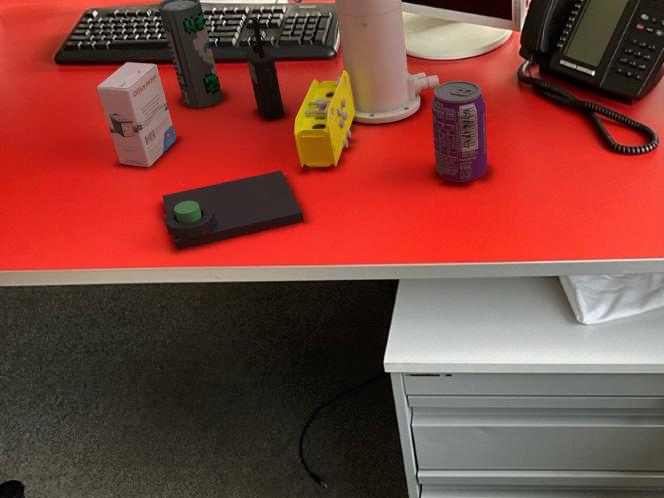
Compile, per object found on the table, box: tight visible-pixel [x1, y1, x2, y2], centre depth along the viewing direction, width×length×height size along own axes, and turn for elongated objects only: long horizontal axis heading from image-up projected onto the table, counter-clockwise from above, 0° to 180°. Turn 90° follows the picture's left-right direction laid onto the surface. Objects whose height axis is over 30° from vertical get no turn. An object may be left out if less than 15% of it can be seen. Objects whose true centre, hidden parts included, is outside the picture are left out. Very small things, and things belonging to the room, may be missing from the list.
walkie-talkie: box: [245, 16, 285, 121], centre depth 134 cm, size 5×3×15 cm
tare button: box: [174, 201, 202, 223], centre depth 111 cm, size 3×3×2 cm
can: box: [156, 0, 224, 109], centre depth 138 cm, size 6×6×15 cm
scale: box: [161, 169, 305, 251], centre depth 116 cm, size 16×12×3 cm
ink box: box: [96, 61, 177, 168], centre depth 126 cm, size 9×5×12 cm, turn 168°
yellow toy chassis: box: [293, 70, 355, 168], centre depth 128 cm, size 16×6×8 cm, turn 177°
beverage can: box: [430, 80, 488, 183], centre depth 119 cm, size 7×7×12 cm
